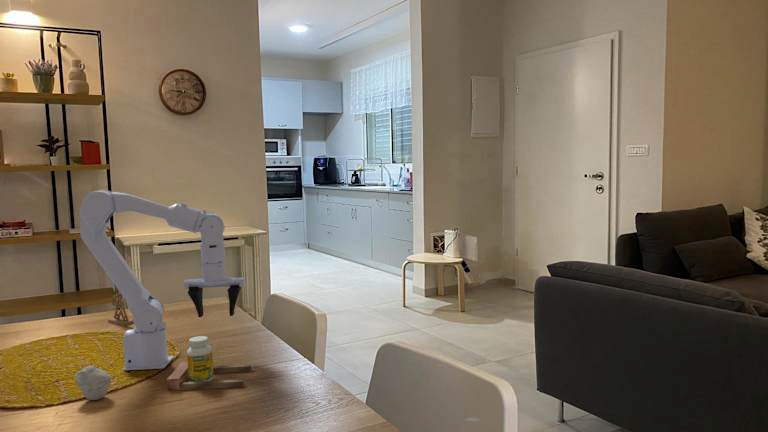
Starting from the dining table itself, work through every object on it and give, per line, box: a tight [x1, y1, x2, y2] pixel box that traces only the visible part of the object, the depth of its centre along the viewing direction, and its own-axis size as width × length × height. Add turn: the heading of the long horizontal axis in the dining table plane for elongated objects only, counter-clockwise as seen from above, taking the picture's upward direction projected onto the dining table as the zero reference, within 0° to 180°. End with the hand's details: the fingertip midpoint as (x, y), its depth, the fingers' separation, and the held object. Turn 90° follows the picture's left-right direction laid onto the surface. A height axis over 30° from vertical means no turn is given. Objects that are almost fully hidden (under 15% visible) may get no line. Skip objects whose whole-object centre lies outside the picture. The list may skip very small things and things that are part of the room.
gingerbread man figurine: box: [107, 285, 135, 327], centre depth 178 cm, size 9×4×12 cm, turn 56°
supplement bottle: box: [186, 335, 215, 382], centre depth 129 cm, size 5×5×10 cm
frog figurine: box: [74, 365, 112, 401], centre depth 120 cm, size 6×7×7 cm
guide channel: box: [166, 361, 252, 391], centre depth 129 cm, size 16×10×2 cm, turn 93°
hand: (216, 315), depth 144 cm, fingers open, 7 cm apart
